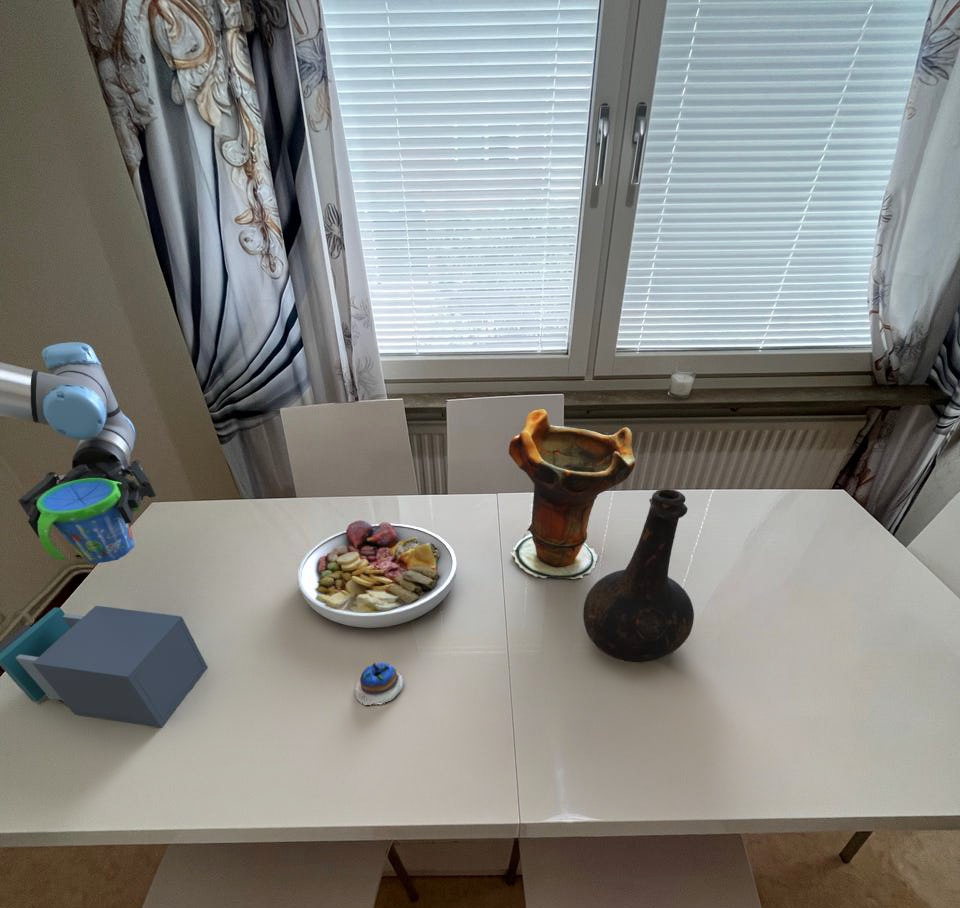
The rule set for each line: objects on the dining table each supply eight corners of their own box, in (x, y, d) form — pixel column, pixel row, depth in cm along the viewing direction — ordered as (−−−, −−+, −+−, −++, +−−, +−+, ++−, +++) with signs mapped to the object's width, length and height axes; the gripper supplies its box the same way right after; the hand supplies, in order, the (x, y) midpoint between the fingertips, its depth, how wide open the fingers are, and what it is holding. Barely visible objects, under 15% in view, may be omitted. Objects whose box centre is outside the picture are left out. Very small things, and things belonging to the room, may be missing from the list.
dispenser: (74, 714, 82) (31, 663, 74) (128, 656, 91) (95, 605, 83) (161, 728, 80) (127, 676, 72) (208, 667, 89) (182, 616, 81)
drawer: (-3, 695, 83) (-44, 653, 77) (52, 645, 91) (20, 602, 85) (110, 713, 81) (77, 670, 74) (156, 659, 89) (131, 617, 82)
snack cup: (89, 587, 78) (51, 527, 72) (41, 570, 82) (0, 511, 75) (172, 534, 89) (146, 478, 82) (127, 521, 92) (98, 465, 85)
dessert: (390, 659, 89) (393, 651, 83) (407, 694, 88) (412, 689, 83) (345, 679, 86) (346, 673, 81) (363, 716, 86) (364, 712, 80)
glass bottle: (582, 676, 87) (610, 527, 68) (575, 607, 100) (597, 465, 81) (692, 682, 86) (753, 532, 67) (671, 611, 99) (717, 468, 80)
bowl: (483, 606, 100) (483, 572, 95) (327, 657, 90) (317, 623, 85) (422, 530, 120) (419, 499, 114) (287, 566, 110) (277, 533, 104)
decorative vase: (618, 591, 104) (649, 451, 84) (500, 583, 106) (505, 445, 86) (611, 533, 119) (636, 404, 100) (508, 527, 121) (513, 399, 101)
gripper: (182, 470, 98) (177, 529, 83) (38, 491, 92) (4, 559, 77) (166, 429, 93) (157, 485, 78) (12, 448, 87) (-30, 513, 72)
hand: (81, 522), depth 77 cm, fingers closed on snack cup, 11 cm apart
